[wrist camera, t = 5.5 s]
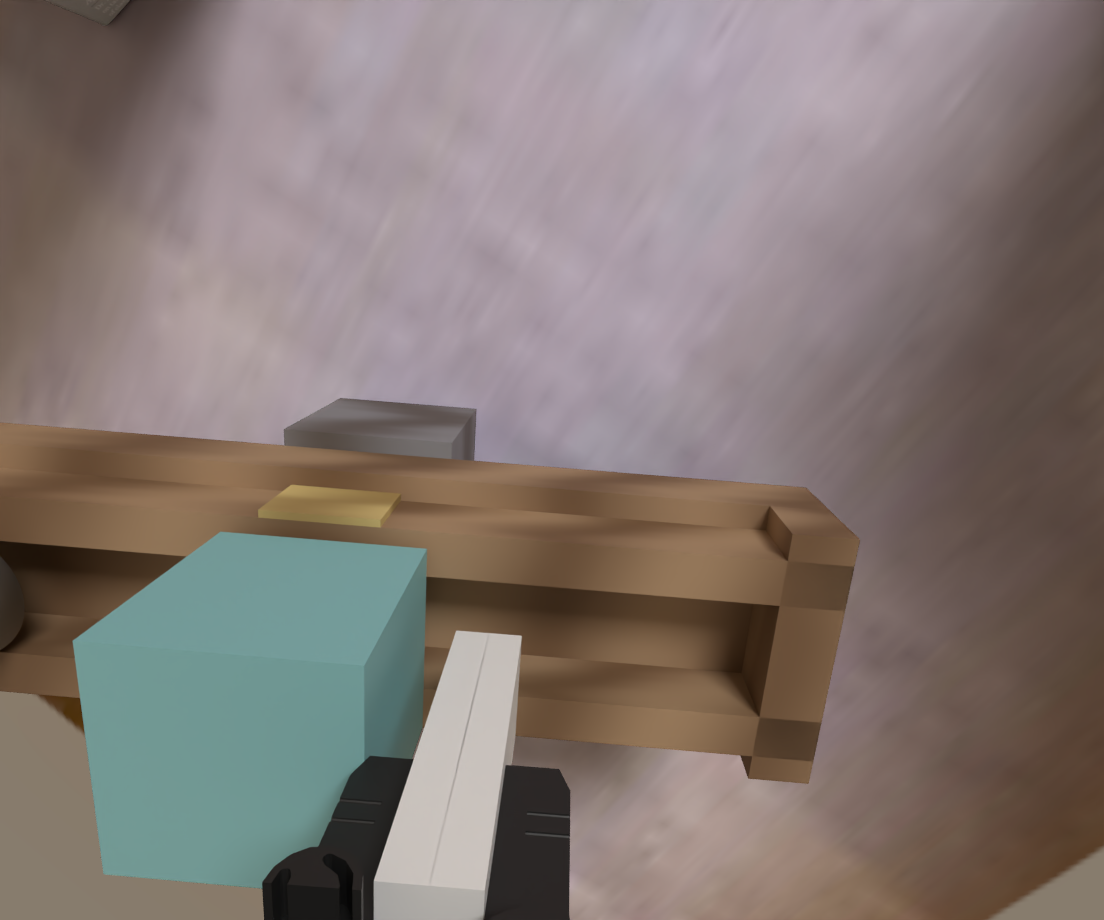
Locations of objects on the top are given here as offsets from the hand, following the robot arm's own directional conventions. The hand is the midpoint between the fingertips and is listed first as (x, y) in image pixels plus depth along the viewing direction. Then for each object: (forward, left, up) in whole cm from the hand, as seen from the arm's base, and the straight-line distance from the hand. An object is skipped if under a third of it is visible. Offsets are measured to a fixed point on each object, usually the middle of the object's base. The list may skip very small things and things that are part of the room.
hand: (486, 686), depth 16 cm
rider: (+4, 0, -4) cm, 6 cm away
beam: (+4, 0, -11) cm, 12 cm away
